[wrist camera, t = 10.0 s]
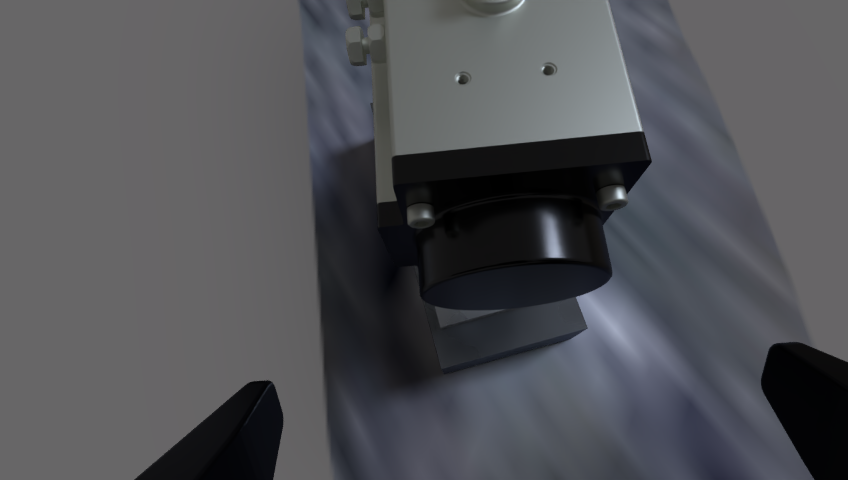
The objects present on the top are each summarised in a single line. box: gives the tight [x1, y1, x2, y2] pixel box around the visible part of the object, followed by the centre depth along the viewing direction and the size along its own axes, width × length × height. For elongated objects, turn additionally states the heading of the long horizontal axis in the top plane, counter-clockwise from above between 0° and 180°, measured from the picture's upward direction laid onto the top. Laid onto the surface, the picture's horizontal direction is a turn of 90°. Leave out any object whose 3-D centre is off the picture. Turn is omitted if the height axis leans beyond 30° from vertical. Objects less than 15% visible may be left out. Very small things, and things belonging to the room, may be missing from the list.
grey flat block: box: [370, 103, 587, 374], centre depth 22 cm, size 15×6×4 cm, turn 15°
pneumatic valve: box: [346, 0, 652, 310], centre depth 15 cm, size 6×12×12 cm, turn 4°
